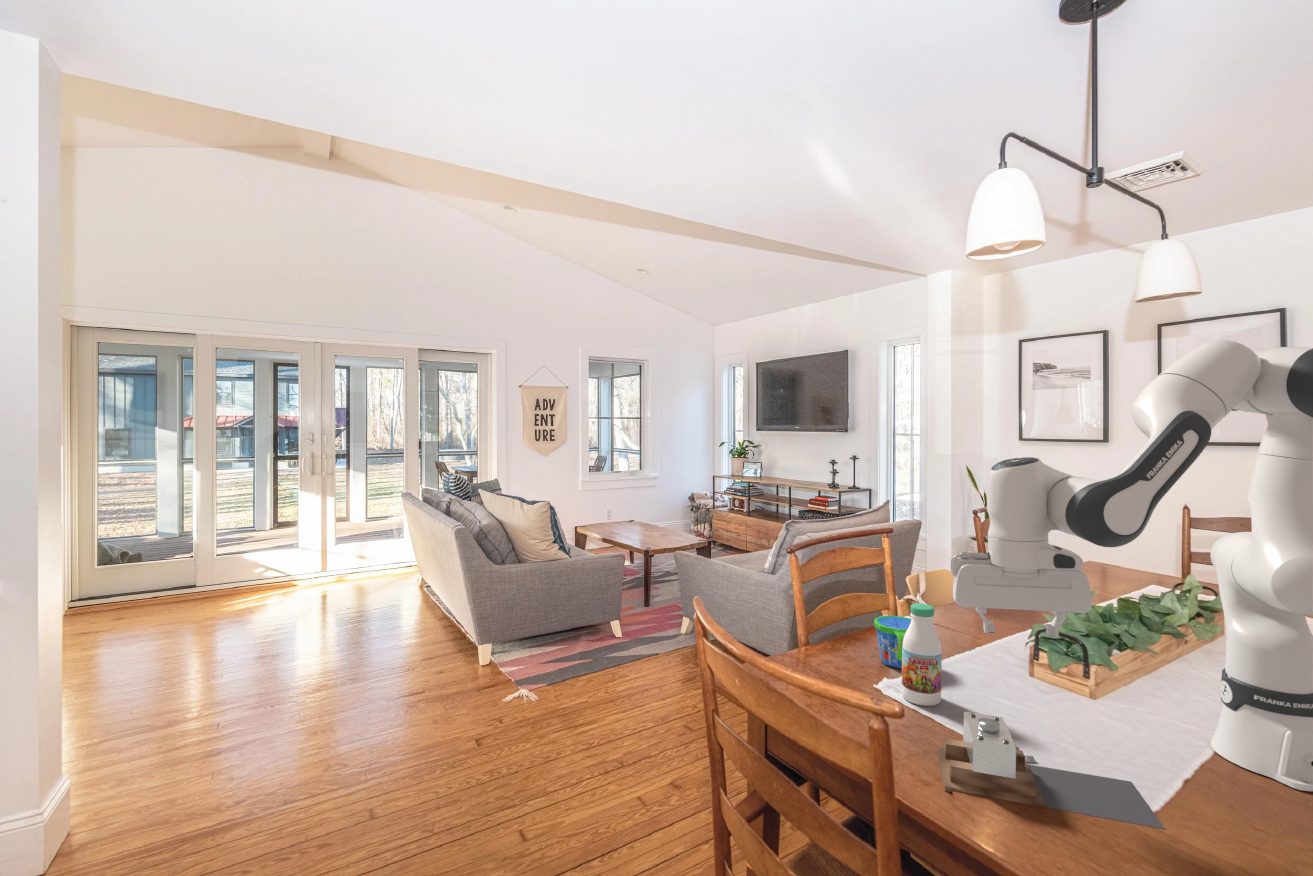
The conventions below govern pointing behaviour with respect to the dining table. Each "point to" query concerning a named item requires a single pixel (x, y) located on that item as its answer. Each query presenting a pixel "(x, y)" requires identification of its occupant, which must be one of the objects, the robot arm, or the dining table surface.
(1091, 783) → the bench mat
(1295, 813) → the dining table surface
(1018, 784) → the stand
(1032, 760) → the pin
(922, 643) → the milk bottle
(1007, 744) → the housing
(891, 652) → the snack cup
